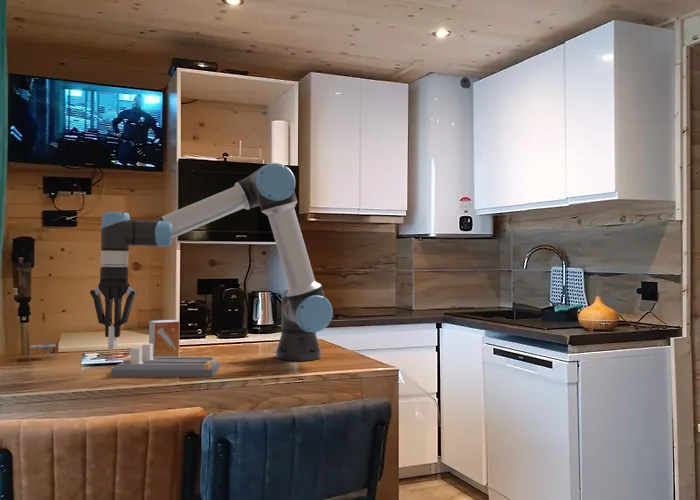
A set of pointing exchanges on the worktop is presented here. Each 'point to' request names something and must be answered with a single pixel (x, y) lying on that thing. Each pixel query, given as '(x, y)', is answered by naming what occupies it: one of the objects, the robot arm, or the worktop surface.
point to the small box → (164, 338)
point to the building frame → (44, 346)
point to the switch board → (168, 367)
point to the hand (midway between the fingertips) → (112, 348)
